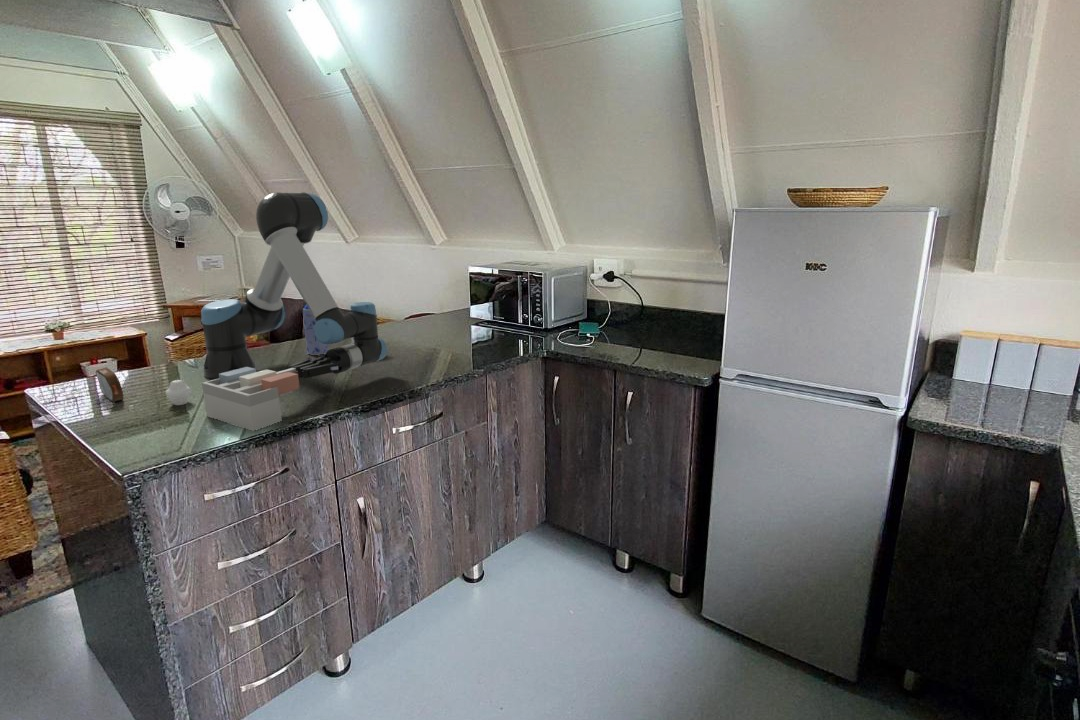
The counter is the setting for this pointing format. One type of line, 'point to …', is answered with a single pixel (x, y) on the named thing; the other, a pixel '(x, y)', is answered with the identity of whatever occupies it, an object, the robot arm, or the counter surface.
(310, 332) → the aerosol can
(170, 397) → the muffin
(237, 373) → the blue-grey rectangular block
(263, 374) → the ivory key
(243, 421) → the grey slotted rack
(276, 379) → the terracotta key
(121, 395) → the tin
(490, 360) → the counter surface
